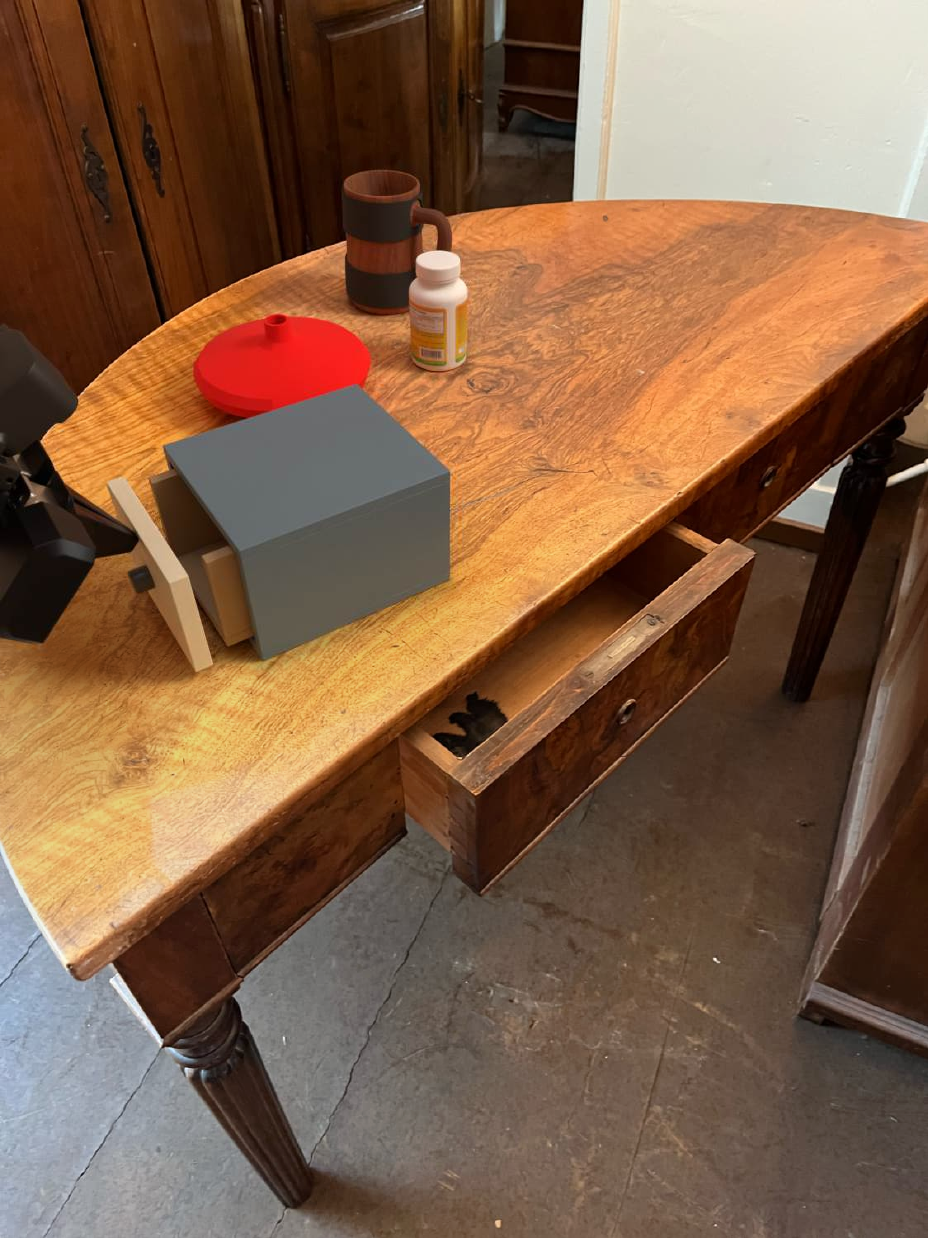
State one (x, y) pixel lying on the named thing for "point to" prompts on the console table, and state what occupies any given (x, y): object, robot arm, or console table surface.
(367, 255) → the mug
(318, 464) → the cabinet
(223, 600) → the drawer
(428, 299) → the supplement bottle
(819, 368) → the console table surface
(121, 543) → the robot arm
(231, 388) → the red squat vase
